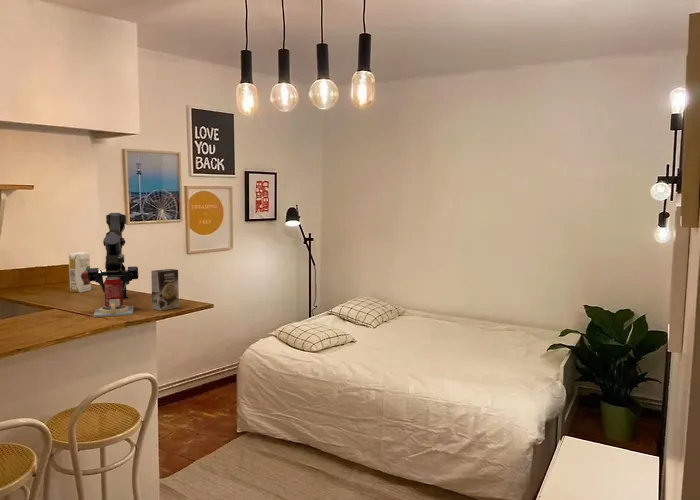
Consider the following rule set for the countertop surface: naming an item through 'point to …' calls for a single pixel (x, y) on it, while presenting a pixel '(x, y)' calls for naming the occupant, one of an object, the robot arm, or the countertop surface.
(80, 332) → the countertop surface
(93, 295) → the countertop surface
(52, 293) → the countertop surface
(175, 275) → the cookie box
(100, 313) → the flange board
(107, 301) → the soda can
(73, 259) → the juice carton
